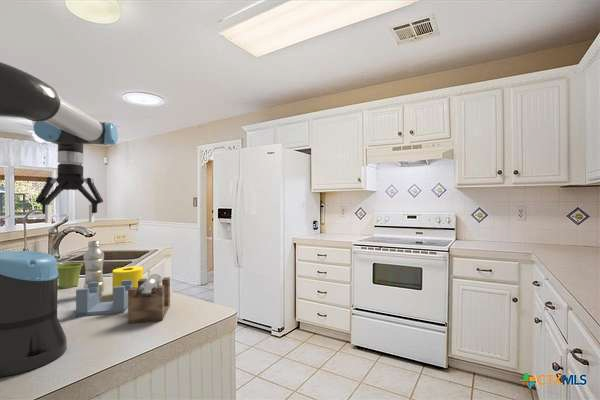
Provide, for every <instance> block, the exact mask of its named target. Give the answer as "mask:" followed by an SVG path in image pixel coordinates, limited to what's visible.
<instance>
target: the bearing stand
mask: <svg viewBox="0 0 600 400" xmlns="http://www.w3.org/2000/svg"><path fill="white" fill-rule="evenodd" d="M147 279H148V278H143V279H140V280H139V281H138V287H131V288H130V289H129V290H128V308H127V325H129V324H139V323H141V324H142V323H149V322H151V323H153V322H160V321H163V319H165V316H166V314H167V313H168V311H169V309H170V306H171V276H170V277H169V276H168V277H163V278H162V281H161V284H159V286H157V287H156V288H155V291H154V292H153V293H152V294H151V295H150V296H149V297H142V296H140V295H139V293H138V289H139V287H140V286H141V285H142V284H143V283H144V282H145V281H146V280H147Z"/></svg>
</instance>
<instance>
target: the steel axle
mask: <svg viewBox="0 0 600 400" xmlns="http://www.w3.org/2000/svg"><path fill="white" fill-rule="evenodd" d="M146 279H147V280H146V281H145V282H144V283H143V284H142V285H141V286H140V287H139V289H138V293H139V295H140V296H142V297H149V296H150V295H151V294H152V293H153V292H154V291H155V288H156V287H157V286H159V285H161V284H162V279H163V278H162V276H161V275H160V274H159V273H153V274H151V275H149V277H148V278H146Z"/></svg>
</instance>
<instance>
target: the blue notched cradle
mask: <svg viewBox="0 0 600 400" xmlns="http://www.w3.org/2000/svg"><path fill="white" fill-rule="evenodd" d="M131 287H132V280H122V286H118V287H113V286H112V301H105V302H104V301H103V302H102V301H101V302H100V294H99V282H89V283H88V288H86V289H84V288H77V289H76V290H75V293H76V294H75V316H76V317H84V316H85V317H86V316H97V315H98V316H99V315H110V314H121V313H125V312H126V311H128V290H129V289H130V288H131Z"/></svg>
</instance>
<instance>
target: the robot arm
mask: <svg viewBox="0 0 600 400" xmlns="http://www.w3.org/2000/svg"><path fill="white" fill-rule="evenodd" d="M0 117H8V118H9V117H12V118H20V119H21V118H22V119H26V120H28V121H32V122H34V123H33V127H32V129H33V132H34V134H35V135H36V136H37V138H40V139H41V140H43V141H46V142H48V143H52V144H55V145H57V163H59V164H57V177H51V176H48V177H46V181H45V184H44V185H43V187H42V190H41V191H40V193H39V194H38V196H37V198H36V199H35V203H37V204H41V206H42V207H41V208H42V209H41V210H42V211H41V212H42V214H44V222H45V223H44V224H51V223H52V221H53V218H52V217H53V215H52V214H53V213H52V211H53V205H52V204H51V202H52V201H54V200H55V199H56V197H58V195H60V194H61V193H62V192H63V191H64V190H65V191H71V190H74V191H79V192H80V193H81V194H82V196H84V197H85V198H86V199H87V200H88V201H89V203H90V204H88V223H94V222H95V214H97V213H98V204H102V203H103V202H104V199H103V198H102V196H101V194H100V193H99V191H98V189H97V188H96V185H95V183H94V178H91V177H87V178H84V166H83V165H84V145H100V146H101V145H102V146H103V145H104V146H107V145H109V146H110V145H111V146H113V145H115V144H117V142H118V138H119V133H118V132H119V131H118V128H117V126H116V125H115V124H114V123H112V122H107V121H104V122H103V121H98V120H97V119H96V118H94V117H93V116H91V115H89V114H88V113H86V112H84V111H83V110H81V109H79V108H78V107H77V106H74V105H73V104H71V103H70V102H68V101H67V100H66V99H64V98H63V97H61V96H60V94H59V92H58V91H57V90H56V89H55V88H53V87H52V86H51V85H50V84H48V83H46V82H44V81H43V80H41V79H40V78H38V77H36V76H34V75H32V74H30V73H28V72H26V71H24V70H21V69H19V68H17V67H14V66H12V65H10V64H7V63H4V62H0ZM56 183H57V184H58V185H56V186H55V187H54V189H53V190H52V188H53V186H54V184H56ZM84 183H85V184H86V185H87V186H88V188H89V190H90V191H91V193H92V194H90V193H89V191H88V190H87V189H86V188H85V187H84V186H83V184H84ZM51 190H52V191H51ZM50 191H51V192H50ZM92 195H93V196H92ZM57 265H58V261H57V258H56V257H55V256H54V255H52V254H50V253H47V252H42V251H32V250H19V251H18V250H16V251H15V250H8V251H7V250H6V251H0V378H2V377H8V376H9V377H10V376H13V375H17V374H21V373H25V372H28V371H32V370H34V369H36V368H40V367H42V366H45V365H47V364H49V363H51V362H53V361H54V360H55V361H56V359H58V358H59V357H61V356H62V355H64V353H65V352H66V351H67V348H68V347H67V346H68V342H67V341H68V340H67V336H66V334H65V331H64V329H63V327H62V325H61V322H60V320H59V318H58V317H59V316H58V292H59V291H58V290H59V289H58V288H59V281H58V269H57Z"/></svg>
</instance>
